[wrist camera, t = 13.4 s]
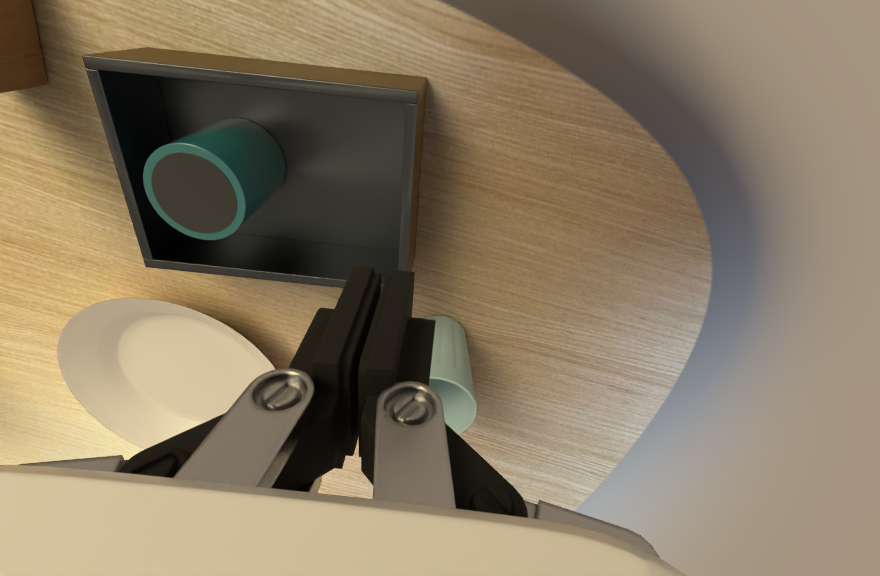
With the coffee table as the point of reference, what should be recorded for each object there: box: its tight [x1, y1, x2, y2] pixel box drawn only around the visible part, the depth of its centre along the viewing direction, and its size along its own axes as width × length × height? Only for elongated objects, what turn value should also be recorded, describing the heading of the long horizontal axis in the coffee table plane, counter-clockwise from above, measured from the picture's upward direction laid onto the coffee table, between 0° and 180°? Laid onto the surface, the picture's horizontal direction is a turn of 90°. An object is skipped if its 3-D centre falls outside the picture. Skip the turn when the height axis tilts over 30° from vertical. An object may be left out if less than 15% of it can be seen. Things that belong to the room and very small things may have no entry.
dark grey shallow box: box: [82, 47, 427, 291], centre depth 35 cm, size 16×22×7 cm
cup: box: [425, 315, 477, 435], centre depth 43 cm, size 8×8×10 cm
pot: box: [143, 118, 286, 240], centre depth 34 cm, size 7×7×8 cm
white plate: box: [58, 298, 275, 449], centre depth 51 cm, size 25×25×4 cm
